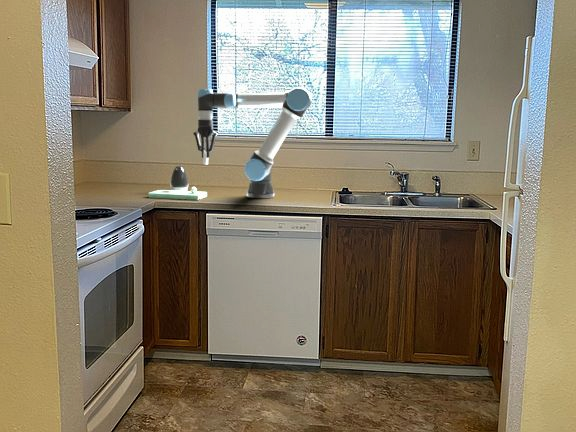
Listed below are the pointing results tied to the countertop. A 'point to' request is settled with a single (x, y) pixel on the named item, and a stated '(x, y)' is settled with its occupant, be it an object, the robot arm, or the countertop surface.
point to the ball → (193, 190)
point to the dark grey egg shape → (179, 179)
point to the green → (177, 194)
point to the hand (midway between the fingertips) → (205, 164)
